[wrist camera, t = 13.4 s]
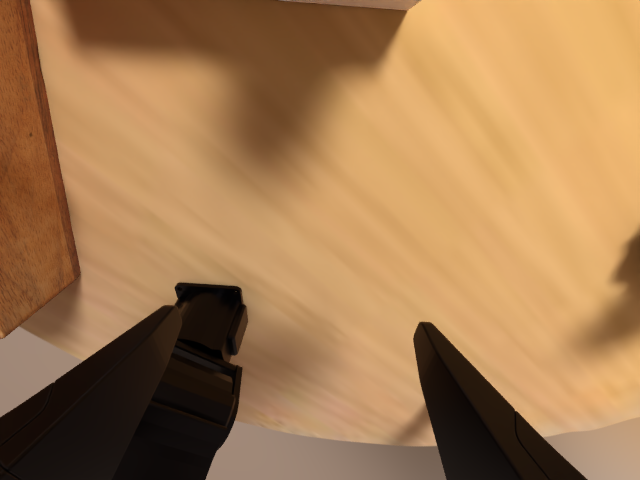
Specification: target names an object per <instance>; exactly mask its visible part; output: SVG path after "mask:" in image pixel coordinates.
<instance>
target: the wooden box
mask: <svg viewBox="0 0 640 480" xmlns="http://www.w3.org/2000/svg"><path fill="white" fill-rule="evenodd" d="M79 275H80V266H79V261H78V256H77V251H76V246H75V241H74V237H73V232H72V227H71V222H70V216H69V210H68V205H67V200H66V195H65V189H64V184H63V179H62V174H61V169H60V164H59V159H58V153H57V147H56V142H55V137H54V131H53V127H52V121H51V116H50V110H49V105H48V99H47V94H46V89H45V84H44V80H43V77H42V75H41V72H40V62H39V56H38V46H37V39H36V34H35V28H34V23H33V17H32V11H31V5H30V0H0V339H3V338H5V337H6V336H7V335H8V334H10V333H11V332H12V331H13V330H15V329H16V328H17V327H18V326H19V325H21V324H22V323H23V322H24V321H26V320H27V319H28V318H29V317H30V316H32V315H33V314H34V313H35V312H37V311H38V310H39V309H40V308H41V307H43V306H44V305H45V304H46V303H47V302H49V301H50V300H51V299H52V298H53V297H55V296H56V295H57V294H58V293H60V292H61V291H62V290H63V289H64V288H66V287H67V286H68V285H69V284H71V283H72V282H73V281H74V280H75V279H76V278H77V277H78V276H79Z"/></svg>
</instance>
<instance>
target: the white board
mask: <svg viewBox="0 0 640 480" xmlns="http://www.w3.org/2000/svg"><path fill="white" fill-rule="evenodd" d="M280 1H293V2H305V3H318V4H331V5H344V6H357V7H369V8H382V9H395V10H409V9H410V8H412V7H413V6H414V5H416V4H417V3H419V2H420V1H421V0H280Z"/></svg>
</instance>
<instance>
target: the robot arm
mask: <svg viewBox="0 0 640 480" xmlns="http://www.w3.org/2000/svg"><path fill="white" fill-rule="evenodd" d="M175 291H176V294H177V298H178V300H177V302H176V303H175V305H164V306H162V307H161V308H159V309H158V310H157V311H155V312H154V313H152V314H151V315H149V316H148V317H146V318H145V319H144V320H142V321H141V322H139V323H138V324H136V325H135V326H134V327H132V328H131V329H129V330H128V331H126V332H125V333H123V334H122V335H121V336H119V337H118V338H116V339H115V340H113V341H112V342H110V343H109V344H108V345H106V346H105V347H103V348H102V349H100V350H99V351H97V352H96V353H95V354H93V355H92V356H90V357H89V358H87V359H86V360H84V361H83V362H82V363H81V364H79V365H77V366H76V367H74V368H73V369H72V370H70V371H69V372H67V373H66V374H64V375H63V376H61V377H60V378H59V379H57V380H56V381H55V383H51V384H50V385H48V386H47V387H45V388H44V389H43V390H41V391H40V392H38V393H37V394H35V395H34V396H32V397H31V398H29V399H28V400H26V401H25V402H23V403H22V404H20V405H19V406H17V407H16V408H14V409H13V410H11V411H10V412H8V413H6V414H5V415H3V416H2V417H0V480H205V479H206V476H207V474H208V471H209V468H210V466H211V463H212V460H213V458H214V456H215V453H216V451H217V450H218V449H219V448H220V447H221V446H222V445H223V443H224V442H225V440H226V439H227V437H228V435H229V433H230V431H231V428H232V426H233V424H234V421H235V418H236V414H237V410H238V404H239V395H240V386H241V376H242V367H240V366H238V365H236V366H235V365H233V364H231V363H229V361H230V358H231V355H234V356H235V355H236V354H238V351H239V348H240V345H241V342H242V339H243V336H244V333H245V329H246V326H247V323H248V318H247V310H246V306H245V304H243V298H242V290H241V288H240V287H237V286H224V285H209V284H194V283H177V285H176V286H175ZM235 291H237V292H235ZM413 341H414V348H415V354H416V360H417V366H418V372H419V378H420V383H421V387H422V391H423V395H424V399H425V402H426V406H427V410H428V413H429V417H430V421H431V424H432V428H433V432H434V435H435V439H436V443H437V446H438V450H439V454H440V457H441V461H442V465H443V468H444V472H445V476H446V479H447V480H587V479H586V478H585V477H584V476H583V475H582V474H581V473H580V472H579V471H578V470H576V469H575V468H574V467H573V466H572V465H571V464H570V463H569V462H568V461H567V460H566V459H564V457H563V456H561V455H560V454H559V453H558V452H557V451H556V450H555V449H554V448H553V447H552V446H551V445H550V444H549V443H548V442H547V441H546V440H545V439H544V438H543V437H542V436H541V435H540V434H539V433H538V432H537V431H536V430H535V429H534V428H533V427H532V426H531V425H530V424H529V423H528V422H527V421H526V420H525V419H524V418H523V417H522V416H521V415H520V414H519V413H518V412H517V411H515V409H514V408H513V407H512V406H511V405H510V404H509V403H508V402H507V401H506V400H505V398H504V397H503V396H502V395H501V394H500V393H499V392H498V391H497V390H496V389H495V388H494V387H493V386H492V385H491V384H490V383H489V382H488V381H487V380H486V379H485V378H484V377H483V376H482V375H481V374H480V372H479V371H478V370H477V369H476V368H475V367H474V366H473V365H472V364H471V363H470V362H469V361H468V360H467V359H466V358H465V357H464V356H463V355H462V354H461V353H460V352H459V351H458V350H457V349H456V348H455V347H454V345H453V344H452V343H451V342H450V341H449V340H448V339H447V338H446V337H445V336H444V335H443V334H442V333H441V332H440V331H439V330H438V329H437V328H436V327H435V326H434V325H433V324H432V323H430V322H420V323H419V324H418V326H417V329H416V331H415V334H414V338H413Z"/></svg>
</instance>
